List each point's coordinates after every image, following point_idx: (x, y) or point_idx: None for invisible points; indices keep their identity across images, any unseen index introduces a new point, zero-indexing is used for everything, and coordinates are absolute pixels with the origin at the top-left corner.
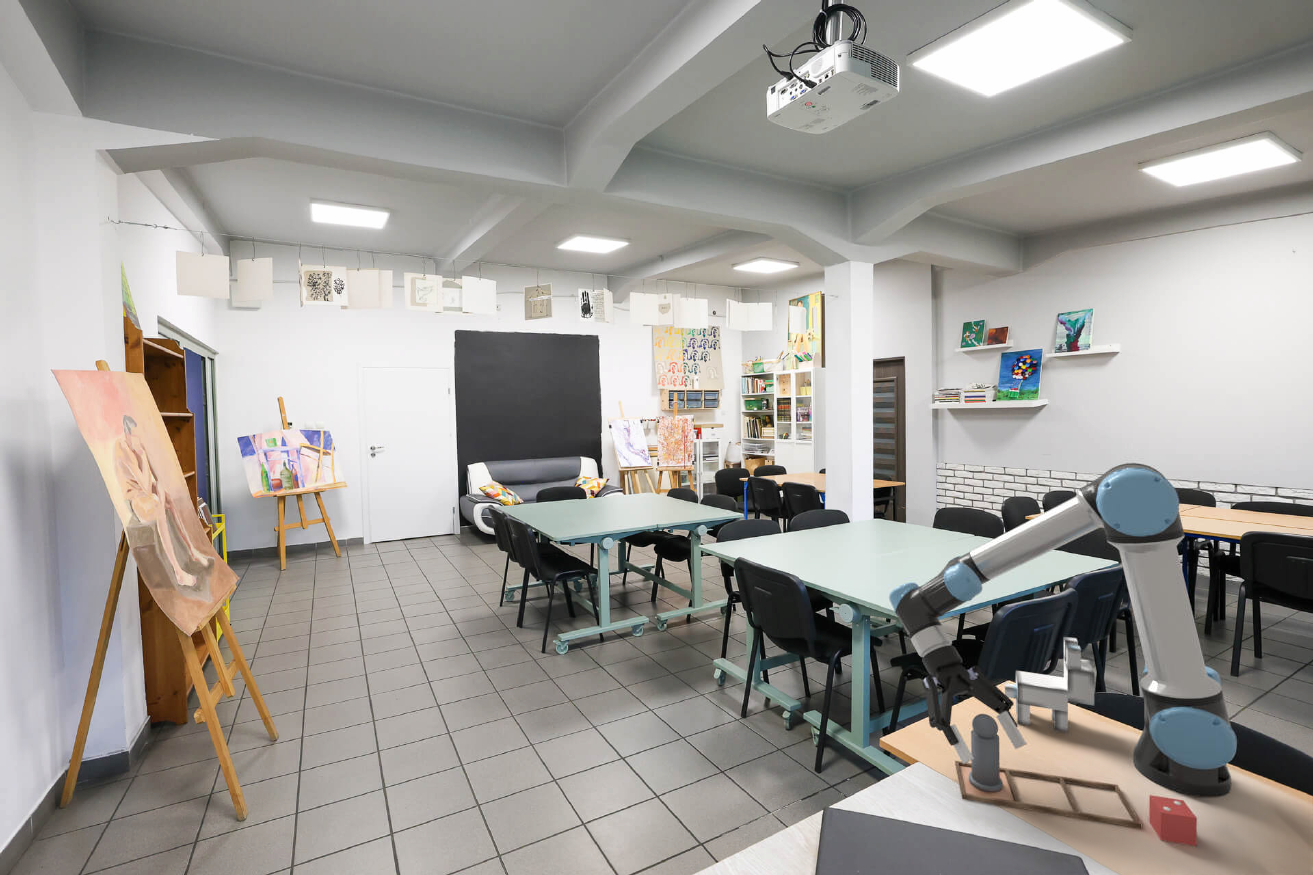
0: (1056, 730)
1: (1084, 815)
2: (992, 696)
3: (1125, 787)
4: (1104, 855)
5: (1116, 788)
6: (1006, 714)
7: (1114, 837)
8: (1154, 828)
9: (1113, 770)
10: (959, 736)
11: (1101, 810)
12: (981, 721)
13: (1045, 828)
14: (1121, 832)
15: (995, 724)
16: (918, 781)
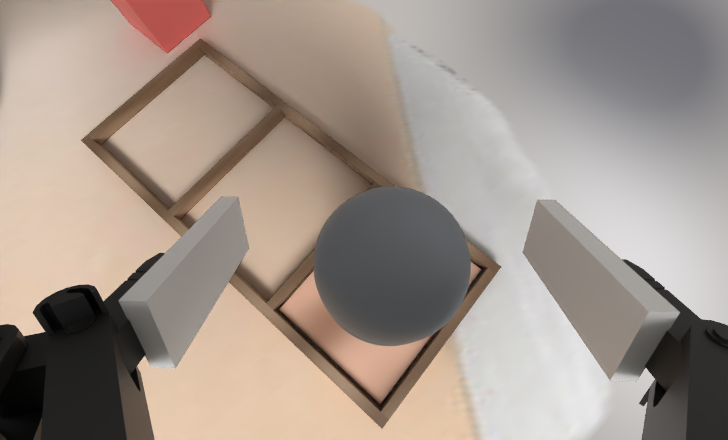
0: None
1: (275, 97)
2: (58, 437)
3: (68, 142)
4: (354, 24)
5: (100, 131)
6: (154, 285)
7: (283, 47)
8: (186, 33)
9: (4, 199)
10: (610, 259)
11: (213, 108)
12: (451, 233)
13: (390, 111)
14: (254, 52)
15: (367, 191)
16: (572, 394)
